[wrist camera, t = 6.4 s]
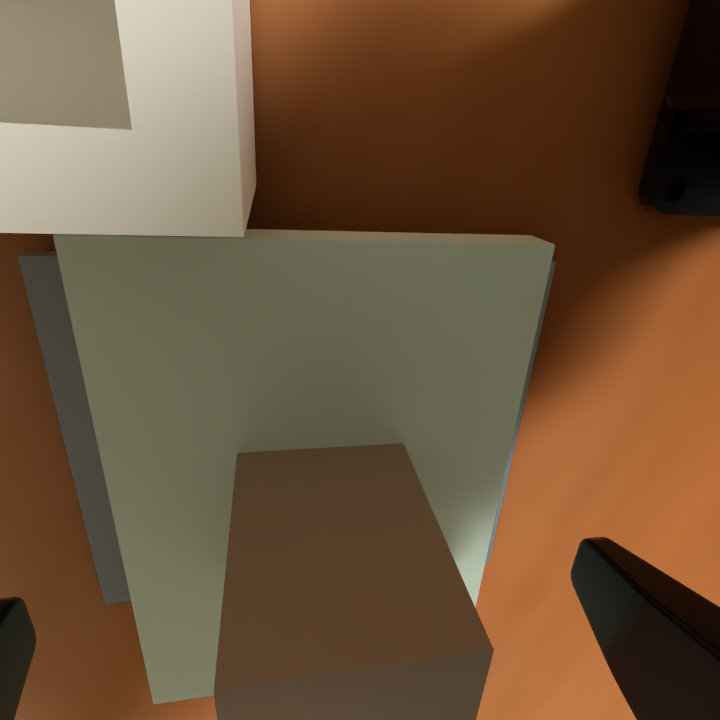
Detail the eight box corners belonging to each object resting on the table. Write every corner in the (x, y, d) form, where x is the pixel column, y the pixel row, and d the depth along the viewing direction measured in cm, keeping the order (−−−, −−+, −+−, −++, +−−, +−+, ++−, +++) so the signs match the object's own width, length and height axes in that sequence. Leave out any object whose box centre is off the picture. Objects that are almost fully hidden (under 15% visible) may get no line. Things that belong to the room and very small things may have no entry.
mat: (546, 256, 10) (556, 261, 10) (483, 551, 14) (489, 562, 13) (28, 250, 8) (16, 255, 8) (109, 590, 12) (104, 604, 12)
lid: (441, 597, 14) (545, 879, 8) (168, 630, 12) (96, 986, 7) (505, 225, 9) (801, 338, 4) (96, 215, 8) (-219, 360, 3)
